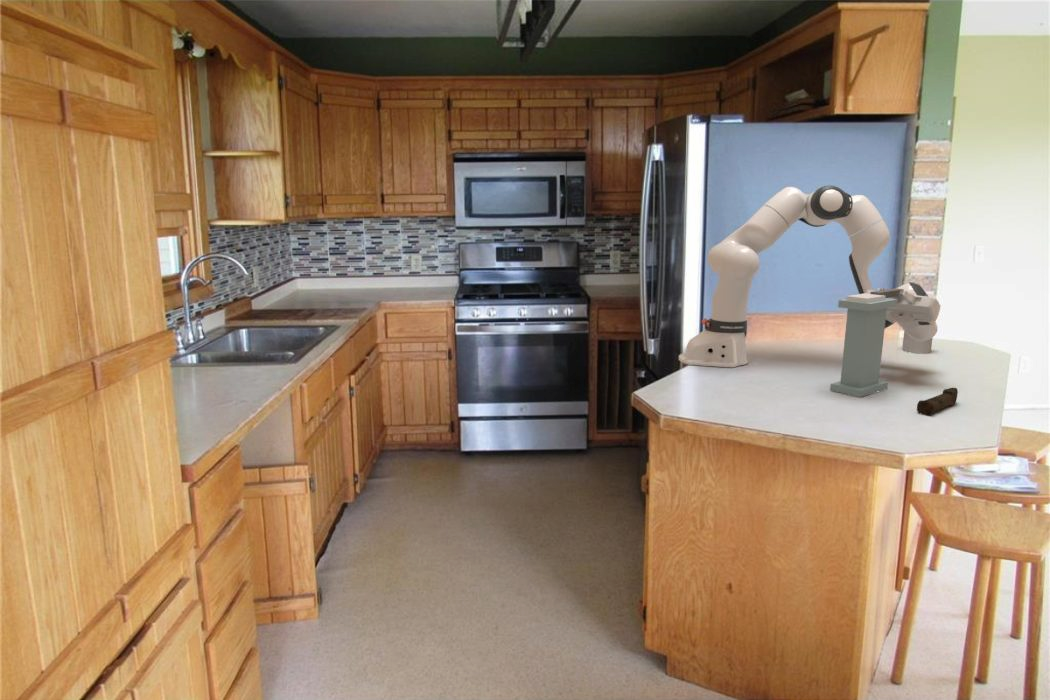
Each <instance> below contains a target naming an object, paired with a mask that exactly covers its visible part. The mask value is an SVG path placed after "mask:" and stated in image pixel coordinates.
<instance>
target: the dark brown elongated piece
mask: <svg viewBox="0 0 1050 700" xmlns="http://www.w3.org/2000/svg"><path fill="white" fill-rule="evenodd" d="M958 393H959V390H958V388H957V387H948V388H944V389H943V390H942V393H941V394H938V395H936V396H933V397H930V398H928V399H925V400H919V401H918V402H917V405H916V412H917V413H918V414H920V413H921V415H924V414H926V415H925V416H931V415H933V414H934V413H935V412H937V411H939V410H942V409H944V408H946V407H948V406H949V408H950V407H951V408H952V407H954V406H955V404H956V403H957V399H958Z"/></svg>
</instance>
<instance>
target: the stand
mask: <svg viewBox="0 0 1050 700" xmlns="http://www.w3.org/2000/svg"><path fill="white" fill-rule="evenodd" d="M897 300H898V299H889V298H885V300H882V301H876V302H870V303H863V302H855V301H847V300H846V298H844V299H838V302H837V303H838V305H837V307H838V308H842V309H847V313H846V323H845V333H844V334H845V335H844V340H843V341H844V342H843V353H842V363H841V364H842V365H841V373H840V375H841V376H840V380H839V381H837V382H836V381H835V382H833V383H830V387H829V391H830V390H832V391H831V392H834V391H837V392H836V393H838V392H841V393H840V394H843V393H846V394H845V395H847V394H850V395H849V396H852V395H854V396H853V397H856V396H859V397H858V398H860V397H861V398H863V397H862V396H864V397H866V396H865V395H867V396H869V395H868V394H870V395H872V394H871V393H873V394H875V393H874V392H877V391H880V392H882V391H881V390H883V391H885V390H884V389H886V390H888V388H889V387H888V386H889V382H888V381H884V380H880V374H881V365H882V357H883V356H882V355H883V346H884V337H885V329H886V328H885V320H886V311H887V308H891V307H897ZM877 393H878V392H877Z"/></svg>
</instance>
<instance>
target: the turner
mask: <svg viewBox="0 0 1050 700" xmlns="http://www.w3.org/2000/svg"><path fill="white" fill-rule="evenodd" d="M896 288H897V287H896ZM896 288H895V287H894V288H888V289H885V290H880V291H877V290H873V292H871V294H866V293H864V294H859V293H857V294H852V295H851V294H850V295H845V299H846V300H847V301H855V302H863V303H870V302H876V301H882V300H885V298H890V297H896V296H899V293H900V291H901V290H903V291H904V289H896Z"/></svg>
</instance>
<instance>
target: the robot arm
mask: <svg viewBox="0 0 1050 700" xmlns="http://www.w3.org/2000/svg"><path fill="white" fill-rule="evenodd" d="M798 221H800V222H802V223H804V224H806V225H808V226H810V227H815V228H816V227H817V228H818V227H823V226H826V225H827V224H830V223H832V222H835V223H838V224H839V225H840V226H842V228H843V229H844V230H845V232H846V235H847V236H848V239H849V241H850V243H851V253H850V254H849V255H848V262H849V267H850V270H851V273H852V276H853V279H854V283H855V286H856V289H857V291H858V294H864V293H866V294H871V292H873V291H874V290H873V286H872V284H871V281H870V278H869V275H868V270H869V267H870V266H871V264H872V263H873V262H874V261H875V259H876V258H877V257H878V256H879V255H880V254H881V253H882V252H883V251H884V250H885V248H886V247H887V246H888V243H889V242H890V237H891V235H890V234H891V233H890V231H889V227H888V226H887V224H886V222H885V219H884V218H883V217H882V215H881V213H880V211H878V209H877V207H875V205H874V204H873V202H872V201H871V200H870V199H869V198H868V197H867V196H865V195H862V194H855V195H850V194H849V193H847V192H845V191H844V190H843V189H842V188H840V187H838V186H836V185H824V186H821V187H819V188H817V189H816V190H814V191H813V192H812V193H808V194H807V193H804V192H803V191H802V190H801V189H799V188H798V187H795V186H787V187H784V188H783V189H782V190H780V191H778V192H777V193H776V194H775V195H773V196H772V197H771V198H769V200H767V201H766V202H764V204H763V205H762V206H761V207H760V208H759V209H758V210H757V211H756V212H755V213H754V214H753V215H751V217H750V218H749V219H748V220H747V221H746V222H745V223H744V224H743V225H742V226H740V227H738V228H737V229H736V230H734V231H733V232H732V233H731V234H730V235H728V236H727V237H726V238H724V239H723V240H722V241H721V242H719V243H717V244H716V245H714V246H713V247H711V249H709V252H708V254H707V264H708V266H709V267H710V269H711V270H712V271H713V272H714V273H715V274H717V275H718V277H719V278H718V282H717V286H716V289H715V291H714V292H713V294H712V301H711V303H712V304H711V318H709V319H707V318H706V317H705V318H703V319H701V323H702V324H703V325H704V329H703V331H701V332H699V333H698V334H697V335H694V337H692V338H690V339H689V341H688V342H687V344H686V348H685V352H682V353H680V354H679V355H678V361H680V362H681V363H682V364H685V365H687V366H689V365H690V366H701V367H702V366H703V367H704V366H705V367H720V368H736V367H738V366H743V365H747V364H748V363H749V360H748V356H747V355H748V354H747V347H746V344H747V343H746V338H747V334H748V320H747V308H748V300H749V293H750V289H751V287H752V283H753V280H754V276H755V275H756V274H757V272H758V270H759V268H760V258H759V256H758V255H759V254H760V253H762V252H763V251H765V250H767V249H769V248H771V247H772V246H773V245H774V244H775V243H776V242H777V241H778V240H779V239H780V238H781V237H782V236H783V235H784V234H785V233H786V232H787V231H788V230H789V229H790V228H792V226H793V225H794V224H795V223H796V222H798ZM896 289H904V291H903V290H901V291H900V293H899V296H896V297H890V298H889V299H898V300H897V307H891V308H887V311H886V320H885V329H887V328H888V327H891V326H892V325H894V324H897V325H899V327H901V328H902V330H903V332H904V331H905V332H906V333H907V334H908V335H909V336H910V337H911V338H913V339H914V340H917V341H927V340H929V339H931V338H934V337H935V336H936V334H937V332H938V324H937V323H936V321H937V320H938V317H939V313H940V310H941V304H940V302H939V300H938V299H937V298H935V297H933V296H929V295H928V293H927V292H926V291H925V290H924V289H923V287H922V286H921V284H919V283H915V282H907V283H904V284H902V285H900V286H898V287H896ZM880 290H886V289H885V288H883V287H878V288H877V290H876V291H880Z"/></svg>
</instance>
